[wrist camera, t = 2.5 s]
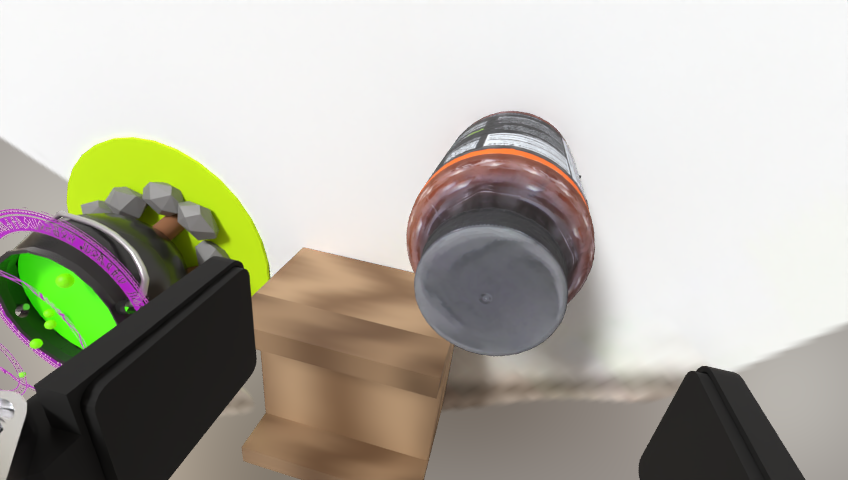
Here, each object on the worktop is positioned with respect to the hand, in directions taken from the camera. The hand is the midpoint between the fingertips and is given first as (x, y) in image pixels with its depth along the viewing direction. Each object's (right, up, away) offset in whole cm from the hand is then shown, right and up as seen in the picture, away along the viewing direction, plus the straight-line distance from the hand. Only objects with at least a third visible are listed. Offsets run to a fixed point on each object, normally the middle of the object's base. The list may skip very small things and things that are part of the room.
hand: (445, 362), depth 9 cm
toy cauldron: (-17, +2, +20) cm, 26 cm away
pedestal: (-3, -3, +18) cm, 19 cm away
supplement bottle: (+4, +6, +12) cm, 14 cm away
